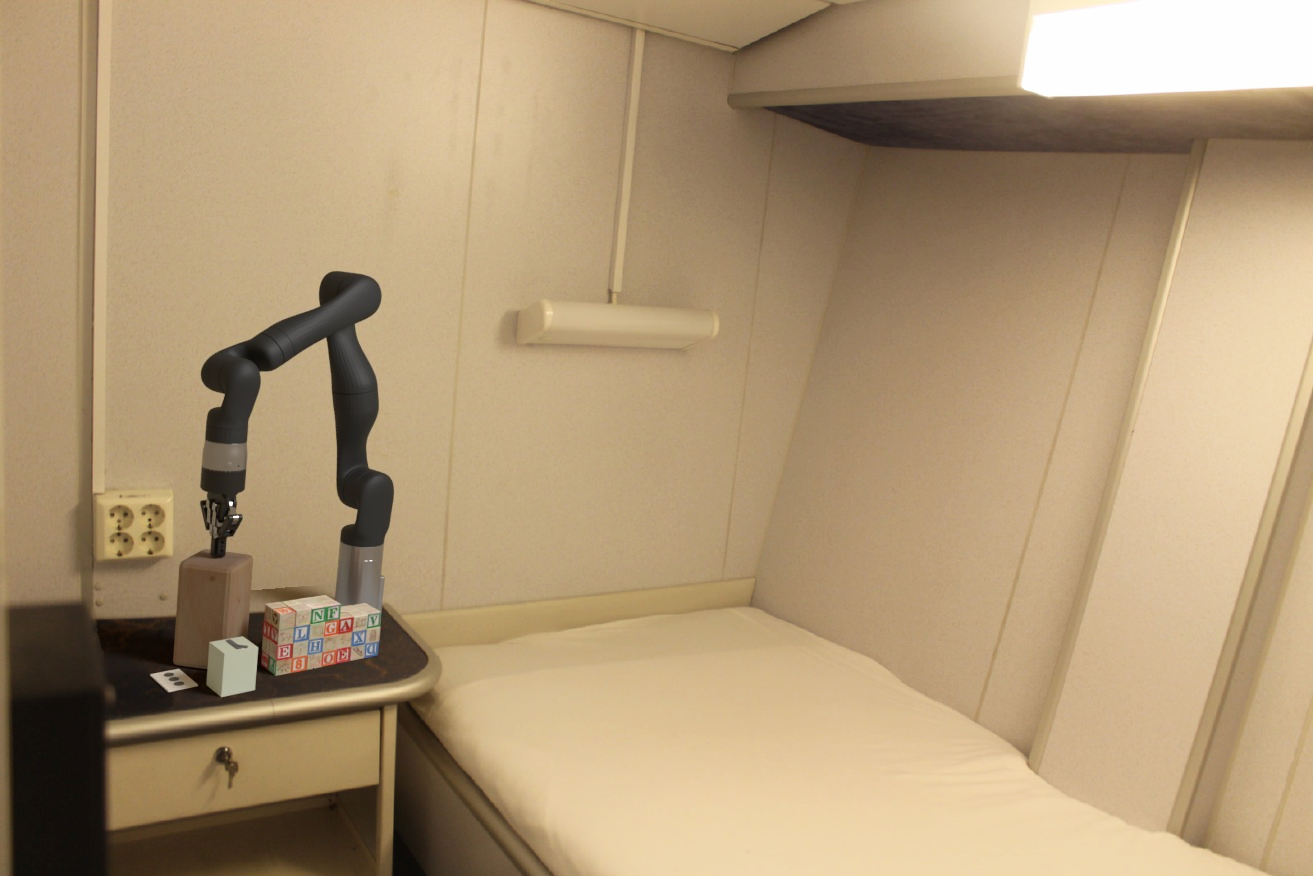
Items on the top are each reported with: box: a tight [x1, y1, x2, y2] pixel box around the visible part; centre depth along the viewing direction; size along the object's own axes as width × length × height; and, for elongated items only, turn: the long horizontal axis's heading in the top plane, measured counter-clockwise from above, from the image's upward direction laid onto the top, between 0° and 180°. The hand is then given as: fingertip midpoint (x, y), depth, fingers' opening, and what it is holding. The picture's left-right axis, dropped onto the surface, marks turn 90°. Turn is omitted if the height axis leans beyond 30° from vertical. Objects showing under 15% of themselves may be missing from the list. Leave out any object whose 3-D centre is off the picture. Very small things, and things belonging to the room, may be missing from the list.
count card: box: [149, 668, 199, 693], centre depth 174 cm, size 8×5×1 cm, turn 47°
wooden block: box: [172, 548, 254, 670], centre depth 183 cm, size 10×10×20 cm
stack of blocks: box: [260, 594, 382, 677], centre depth 190 cm, size 21×6×12 cm, turn 136°
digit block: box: [206, 636, 259, 698], centre depth 174 cm, size 6×6×8 cm
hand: (217, 556), depth 181 cm, fingers closed
